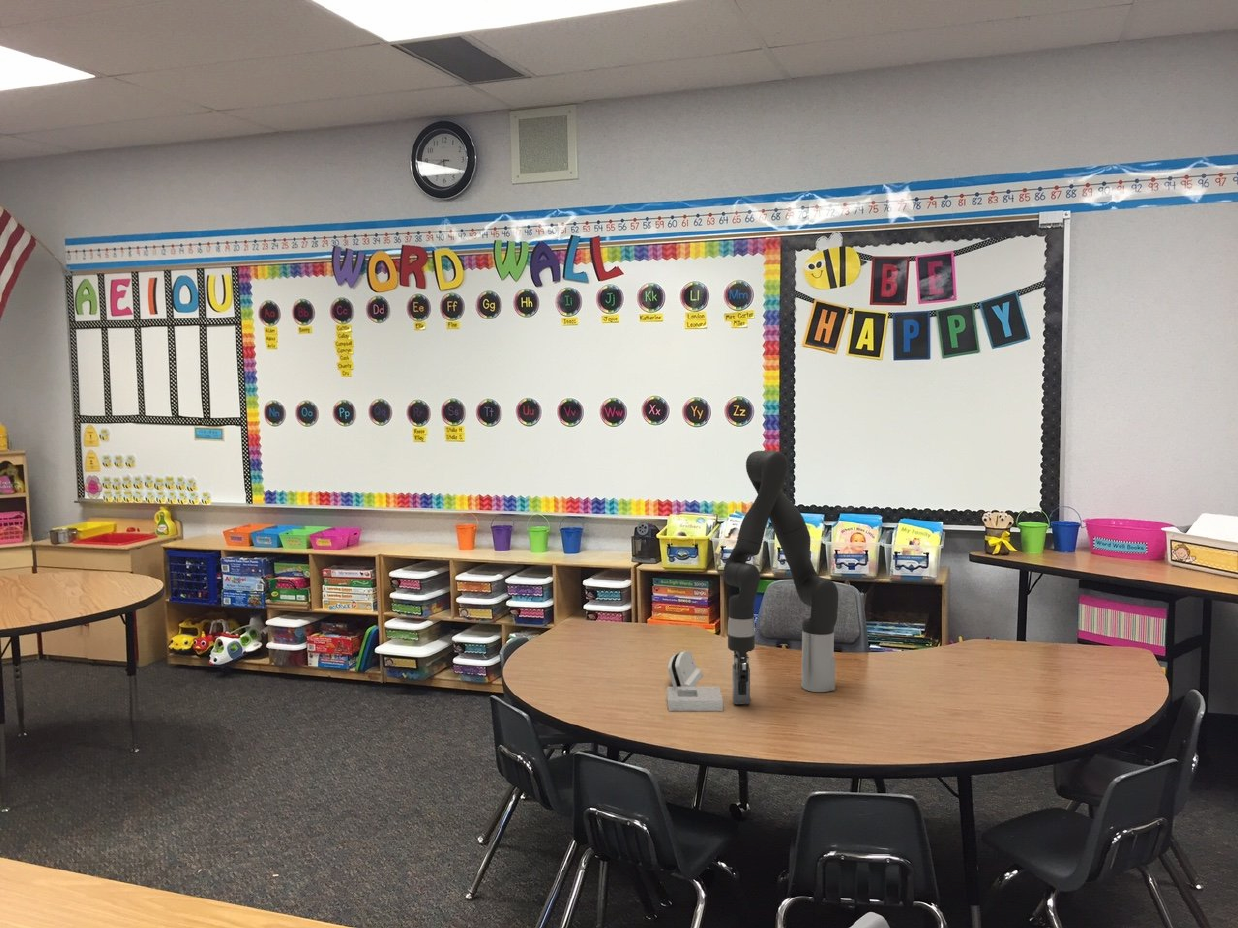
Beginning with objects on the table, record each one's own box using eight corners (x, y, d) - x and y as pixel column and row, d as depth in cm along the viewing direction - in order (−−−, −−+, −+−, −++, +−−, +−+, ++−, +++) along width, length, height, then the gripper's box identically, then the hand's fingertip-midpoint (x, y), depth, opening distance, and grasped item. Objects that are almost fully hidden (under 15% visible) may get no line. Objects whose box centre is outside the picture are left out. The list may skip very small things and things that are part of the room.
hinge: (690, 691, 277) (679, 659, 278) (675, 695, 279) (664, 663, 279) (703, 674, 293) (692, 644, 293) (689, 678, 295) (678, 648, 295)
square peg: (747, 698, 269) (748, 664, 268) (750, 703, 264) (750, 669, 264) (732, 698, 269) (732, 664, 268) (734, 703, 265) (734, 669, 264)
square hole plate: (718, 696, 273) (718, 686, 273) (723, 710, 261) (723, 700, 261) (667, 696, 273) (667, 686, 273) (668, 710, 261) (668, 700, 261)
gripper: (758, 639, 258) (758, 700, 259) (751, 625, 272) (751, 683, 274) (730, 639, 258) (730, 700, 259) (725, 625, 272) (725, 683, 274)
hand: (741, 691), depth 266 cm, fingers closed on square peg, 4 cm apart
